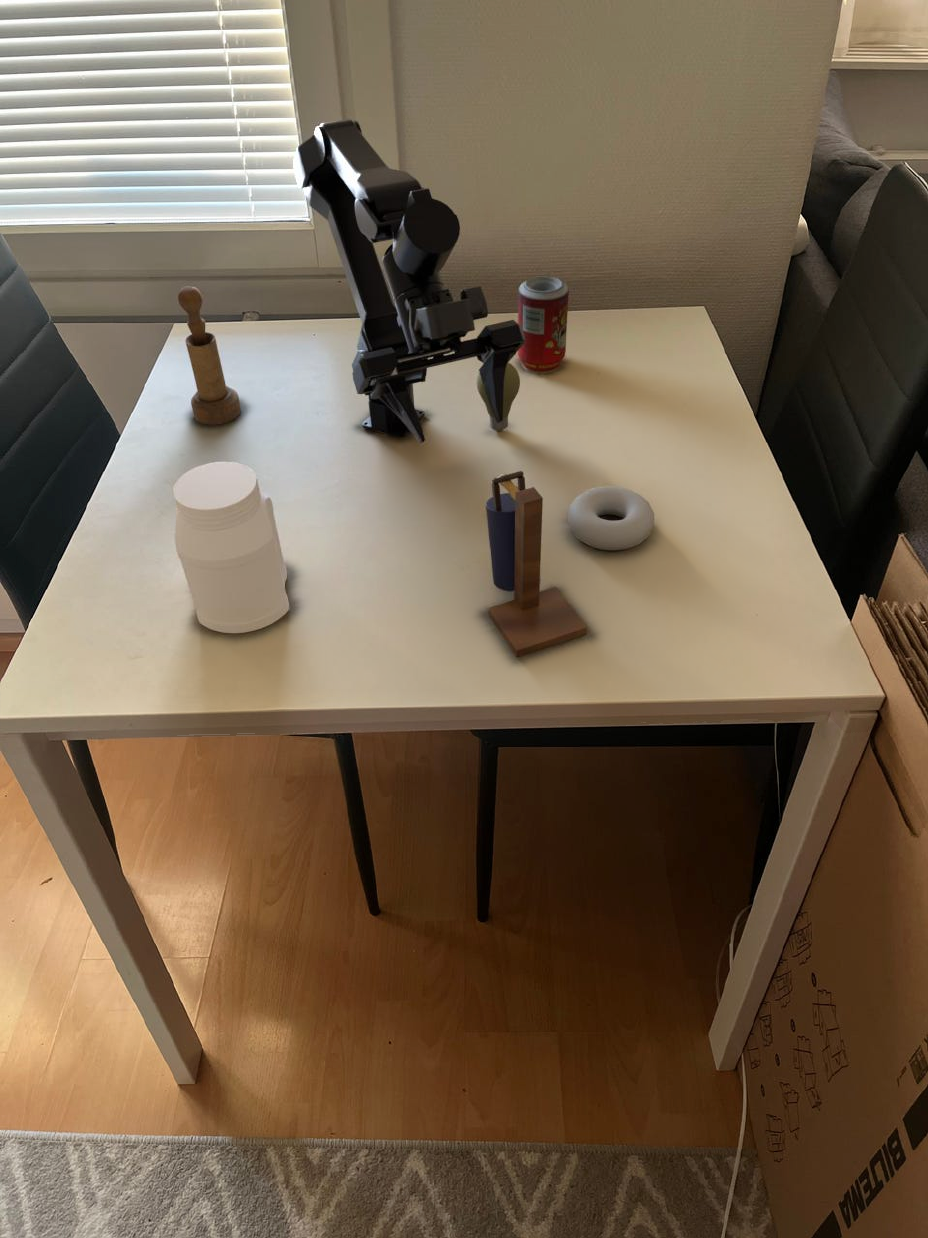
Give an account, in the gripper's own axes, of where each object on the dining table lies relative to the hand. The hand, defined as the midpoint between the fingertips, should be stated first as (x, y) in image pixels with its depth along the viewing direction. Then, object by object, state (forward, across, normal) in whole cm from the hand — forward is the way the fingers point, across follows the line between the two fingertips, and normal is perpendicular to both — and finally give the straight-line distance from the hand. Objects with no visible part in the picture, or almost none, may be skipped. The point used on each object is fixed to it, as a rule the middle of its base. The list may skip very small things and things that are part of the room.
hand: (462, 431), depth 101 cm
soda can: (-13, +25, +31) cm, 42 cm away
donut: (+15, +15, +3) cm, 21 cm away
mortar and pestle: (-18, -22, +36) cm, 46 cm away
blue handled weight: (+17, 0, -2) cm, 17 cm away
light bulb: (-3, +12, +21) cm, 24 cm away
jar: (+10, -27, +8) cm, 30 cm away
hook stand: (+21, 0, -3) cm, 21 cm away
